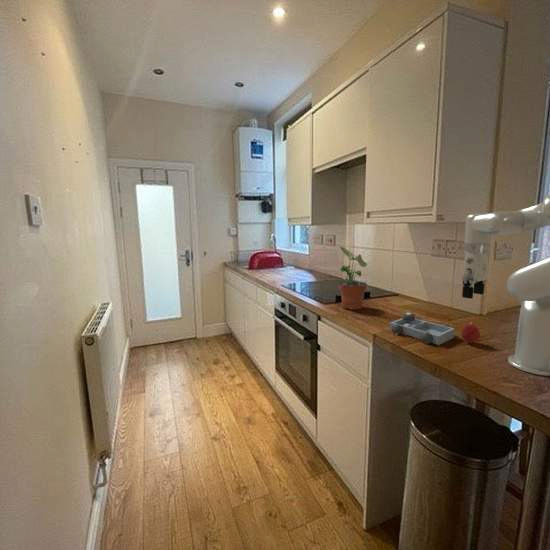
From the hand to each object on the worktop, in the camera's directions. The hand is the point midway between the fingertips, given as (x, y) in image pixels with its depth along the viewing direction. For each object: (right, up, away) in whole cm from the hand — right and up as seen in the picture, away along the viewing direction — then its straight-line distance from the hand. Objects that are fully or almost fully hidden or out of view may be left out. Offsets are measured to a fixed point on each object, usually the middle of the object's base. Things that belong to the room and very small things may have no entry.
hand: (473, 295), depth 110 cm
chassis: (-13, -17, +13) cm, 25 cm away
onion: (+1, -18, +3) cm, 18 cm away
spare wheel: (-16, -11, +16) cm, 26 cm away
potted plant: (-31, -10, +52) cm, 61 cm away
